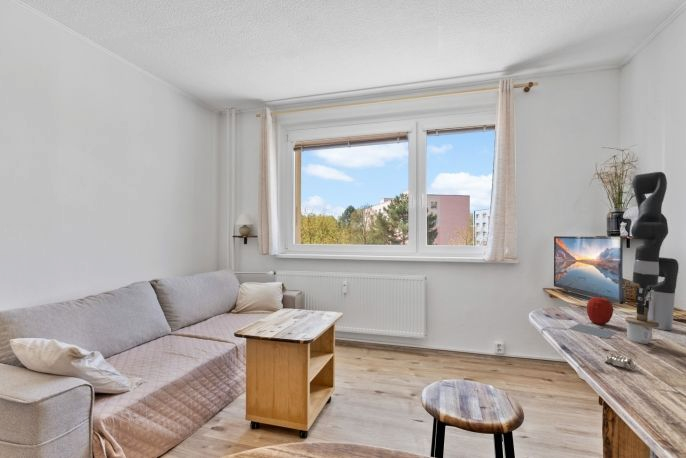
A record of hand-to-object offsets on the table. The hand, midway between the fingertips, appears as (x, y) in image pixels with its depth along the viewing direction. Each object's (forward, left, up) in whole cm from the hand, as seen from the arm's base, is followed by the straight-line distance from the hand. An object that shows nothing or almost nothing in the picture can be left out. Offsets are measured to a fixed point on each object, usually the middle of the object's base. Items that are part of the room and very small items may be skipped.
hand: (642, 312), depth 134 cm
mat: (0, -16, -12) cm, 20 cm away
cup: (0, 0, -12) cm, 13 cm away
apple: (-18, -18, -12) cm, 28 cm away
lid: (0, 0, -4) cm, 4 cm away
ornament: (+38, +1, -13) cm, 40 cm away
